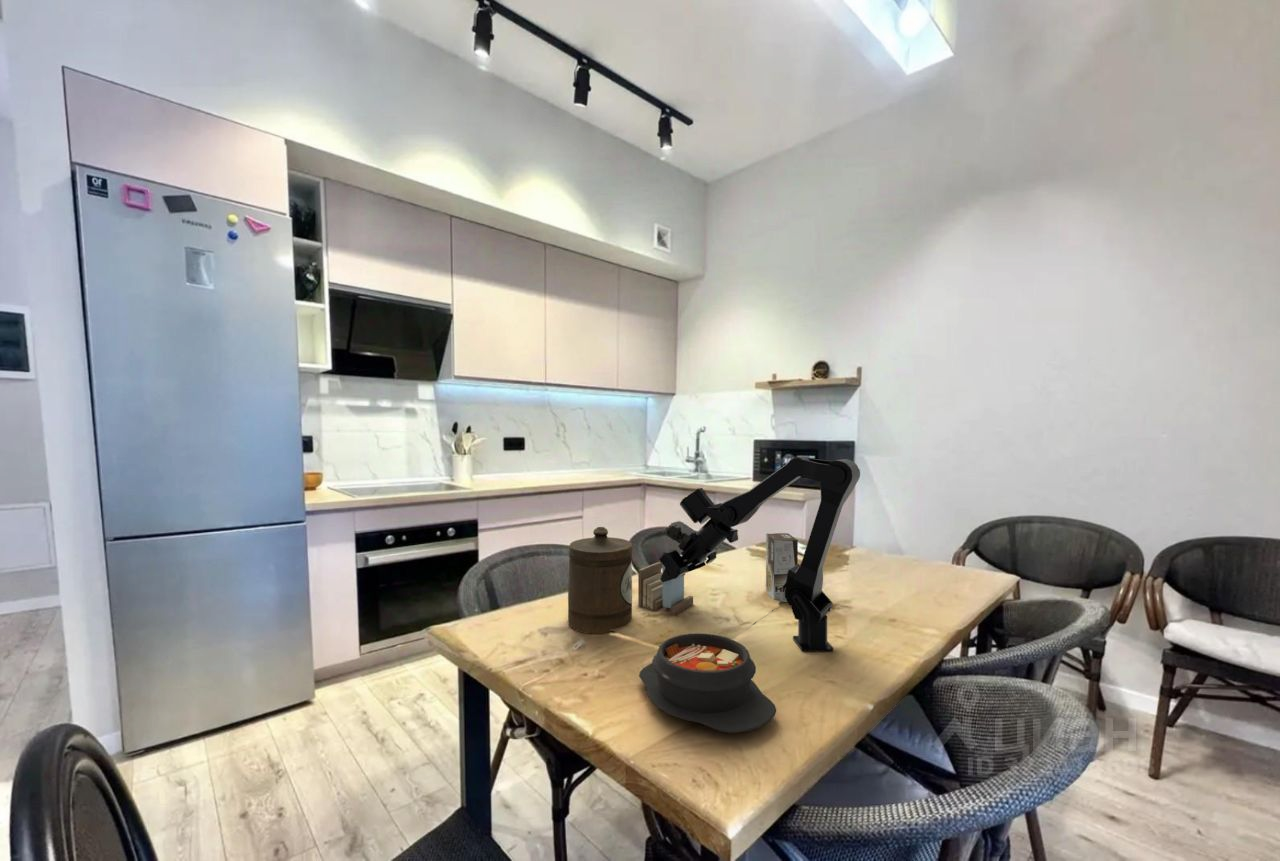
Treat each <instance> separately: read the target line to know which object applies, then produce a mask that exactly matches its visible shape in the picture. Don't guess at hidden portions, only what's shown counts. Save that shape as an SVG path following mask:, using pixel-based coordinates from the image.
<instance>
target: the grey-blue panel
mask: <svg viewBox="0 0 1280 861" xmlns="http://www.w3.org/2000/svg"><path fill="white" fill-rule="evenodd" d="M680 556H682V555H681V554H680ZM664 570H665V567H664V565H663V564H662V563H661V572H662V574H663V572H664ZM662 585H663V606H664V607H668V608H670V606H671V605H673V604H675V603H677V602H679V601H680V600H682V599H684V598H685V575H684V576H681V577H679V578H677V579H672V580H669V581H666V582H662Z"/></svg>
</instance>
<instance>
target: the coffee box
mask: <svg viewBox="0 0 1280 861" xmlns="http://www.w3.org/2000/svg"><path fill="white" fill-rule="evenodd" d="M765 538H766V539H765V571H766V572H765V575H766V576H765V578H766V579H765V580H766V581H765V583H766V584H765V587H766V588H765V590H766V593H767V594H768V596H769V597H770V599H771V600H775V601H779V602H781V603H788V602H787V600H786V598H785V595H784V594H785V589H786V588H783V586H784V585H785V583H786V581H787V574H788V570H789V569H791V568H792V567H794V566H796V565H797V564H799V563H798V560H799V557H798V556H799V549H798V547H799V540H798V538H796V537H794V536H792V535H791V534H790V533H786V532H777V533H776V532H775V533H766V534H765Z"/></svg>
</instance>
